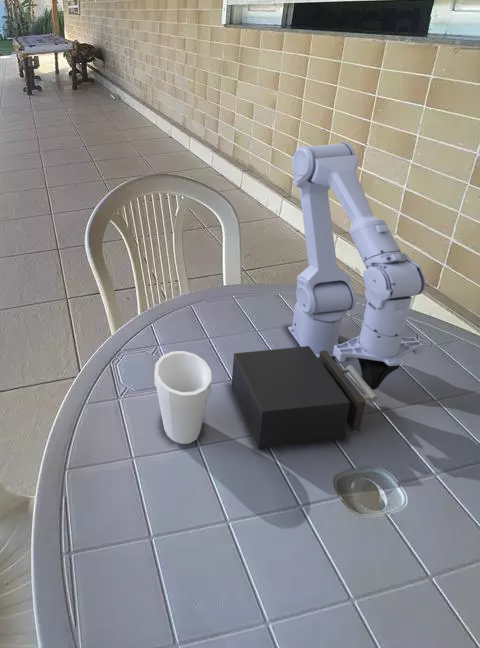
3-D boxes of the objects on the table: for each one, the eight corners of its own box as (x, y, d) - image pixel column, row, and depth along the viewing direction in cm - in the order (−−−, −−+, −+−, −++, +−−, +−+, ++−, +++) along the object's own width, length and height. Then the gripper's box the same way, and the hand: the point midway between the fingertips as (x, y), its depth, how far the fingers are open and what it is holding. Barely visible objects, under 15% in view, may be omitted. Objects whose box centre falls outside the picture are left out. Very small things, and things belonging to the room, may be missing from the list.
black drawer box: (303, 379, 83) (309, 345, 80) (342, 439, 71) (350, 402, 68) (231, 387, 83) (233, 353, 80) (258, 448, 71) (262, 411, 68)
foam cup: (213, 414, 77) (216, 360, 73) (203, 461, 70) (205, 402, 65) (163, 398, 81) (163, 345, 77) (148, 440, 74) (146, 384, 69)
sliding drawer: (342, 375, 83) (347, 348, 80) (383, 428, 72) (390, 398, 70) (253, 384, 82) (256, 357, 80) (281, 439, 71) (285, 409, 69)
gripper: (356, 346, 67) (344, 408, 72) (444, 337, 68) (425, 399, 73) (330, 316, 74) (320, 375, 79) (410, 308, 74) (395, 367, 79)
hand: (369, 385), depth 76 cm, fingers closed
